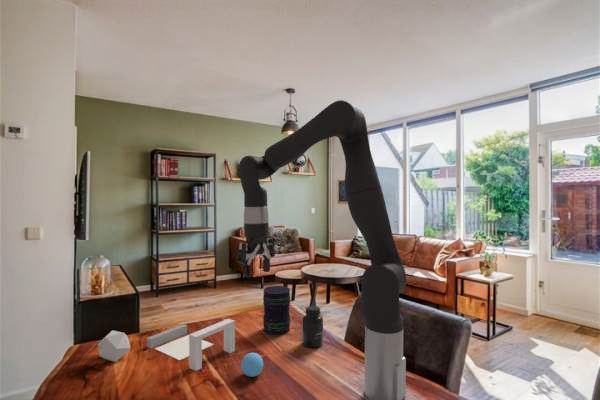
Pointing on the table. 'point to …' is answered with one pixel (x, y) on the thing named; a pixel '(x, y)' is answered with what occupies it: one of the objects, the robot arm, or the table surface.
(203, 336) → the bridge
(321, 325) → the supplement bottle
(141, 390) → the table surface
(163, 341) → the wall
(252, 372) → the ball
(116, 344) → the die
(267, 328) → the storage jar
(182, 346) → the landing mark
